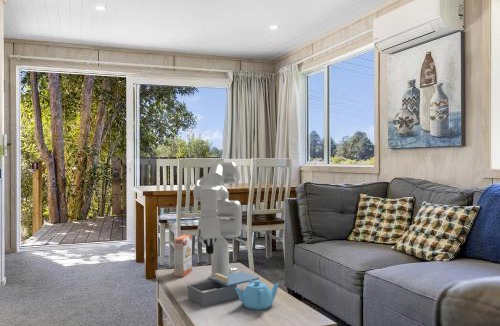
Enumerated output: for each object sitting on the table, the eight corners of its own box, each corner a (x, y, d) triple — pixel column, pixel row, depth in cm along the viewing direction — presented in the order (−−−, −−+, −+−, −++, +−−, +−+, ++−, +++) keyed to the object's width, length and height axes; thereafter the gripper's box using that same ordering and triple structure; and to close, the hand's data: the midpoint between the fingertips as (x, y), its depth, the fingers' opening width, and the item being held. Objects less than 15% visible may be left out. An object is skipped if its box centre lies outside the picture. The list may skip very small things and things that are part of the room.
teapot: (233, 307, 180) (232, 283, 180) (250, 297, 193) (249, 274, 193) (264, 313, 173) (264, 288, 172) (280, 302, 186) (279, 278, 186)
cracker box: (184, 277, 227) (183, 239, 227) (173, 276, 229) (173, 239, 228) (192, 270, 241) (192, 234, 241) (182, 270, 242) (182, 234, 242)
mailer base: (220, 290, 204) (220, 278, 204) (236, 298, 192) (236, 285, 192) (187, 298, 193) (187, 285, 193) (203, 306, 182) (202, 293, 182)
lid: (242, 272, 212) (241, 266, 211) (259, 279, 200) (259, 272, 200) (211, 279, 201) (211, 272, 201) (228, 286, 189) (228, 279, 189)
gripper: (218, 211, 199) (219, 249, 200) (190, 214, 190) (191, 254, 191) (227, 213, 193) (227, 252, 194) (198, 216, 184) (199, 257, 185)
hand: (209, 253), depth 192 cm, fingers closed
